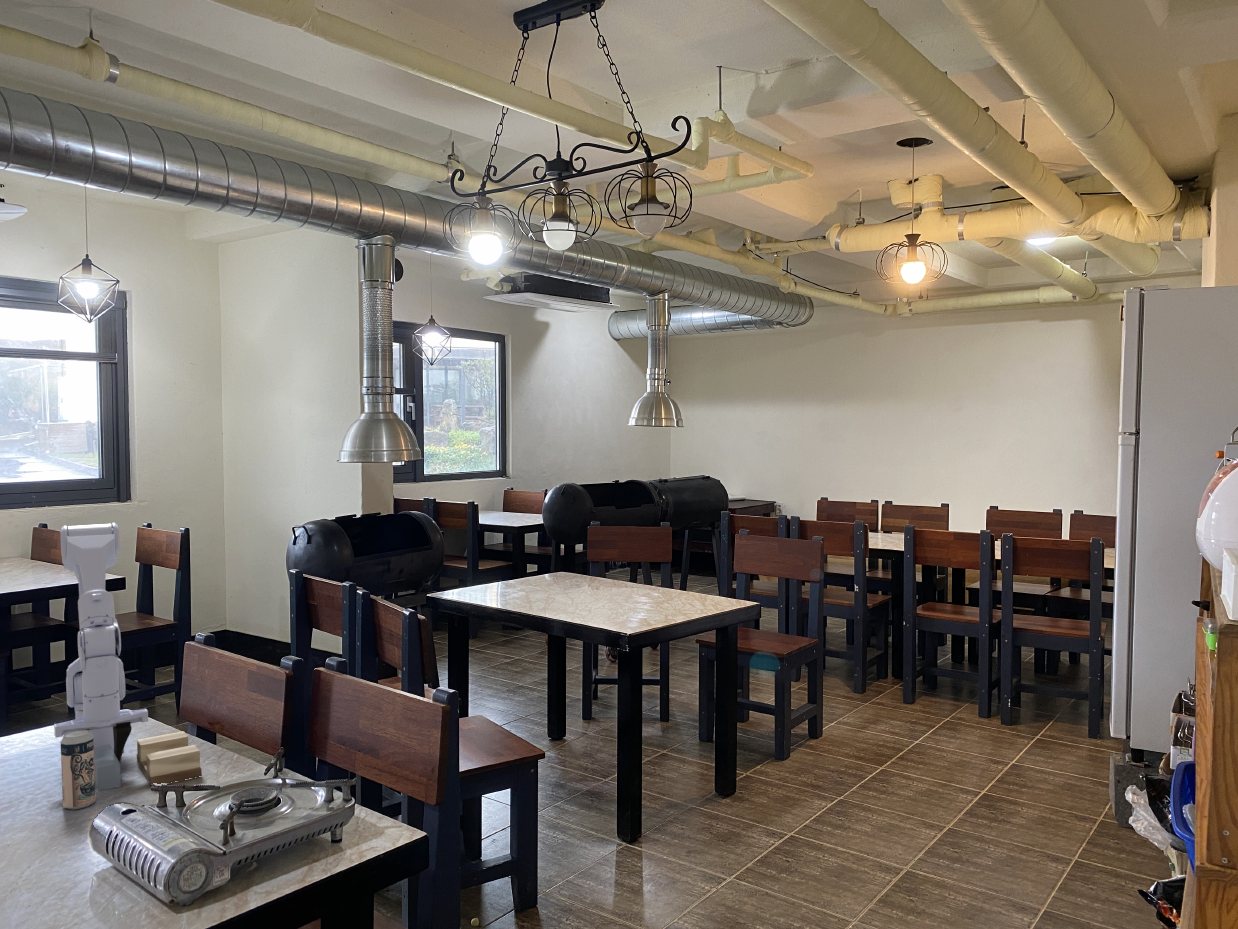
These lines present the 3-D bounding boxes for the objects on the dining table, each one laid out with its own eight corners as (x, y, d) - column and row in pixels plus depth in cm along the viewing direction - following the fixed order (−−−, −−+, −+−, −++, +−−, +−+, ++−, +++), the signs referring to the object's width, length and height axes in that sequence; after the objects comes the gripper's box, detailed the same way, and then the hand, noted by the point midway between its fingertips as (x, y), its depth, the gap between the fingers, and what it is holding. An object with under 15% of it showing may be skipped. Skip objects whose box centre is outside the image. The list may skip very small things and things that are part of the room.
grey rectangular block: (88, 769, 170) (87, 748, 170) (110, 765, 172) (109, 744, 172) (97, 790, 160) (96, 767, 159) (120, 786, 162) (119, 763, 161)
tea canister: (80, 812, 150) (78, 738, 150) (55, 810, 151) (52, 737, 151) (102, 800, 155) (100, 729, 155) (78, 798, 156) (75, 728, 156)
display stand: (136, 762, 173) (136, 738, 173) (183, 753, 178) (182, 729, 178) (152, 787, 160) (151, 762, 160) (201, 777, 165) (200, 752, 165)
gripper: (55, 705, 158) (58, 784, 158) (150, 690, 166) (152, 765, 167) (52, 696, 164) (54, 772, 164) (143, 682, 172) (145, 755, 172)
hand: (103, 768), depth 166 cm, fingers closed on grey rectangular block, 3 cm apart
